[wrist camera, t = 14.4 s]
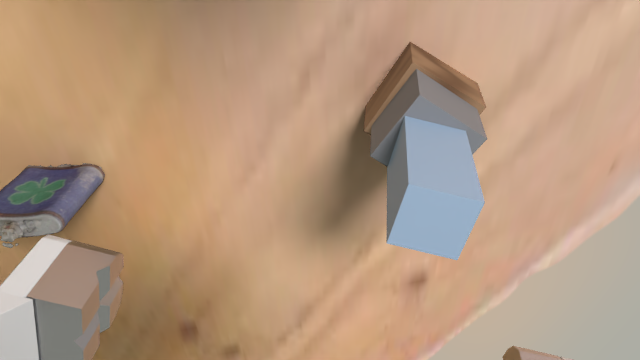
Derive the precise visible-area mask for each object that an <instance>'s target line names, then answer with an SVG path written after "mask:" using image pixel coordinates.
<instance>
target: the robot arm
mask: <svg viewBox="0 0 640 360" xmlns="http://www.w3.org/2000/svg"><path fill="white" fill-rule="evenodd" d="M123 267H124V261H123V254H121V253H119V252H115V251H111V250H108V249H104V248H100V247H96V246H92V245H89V244H85V243H81V242H77V241H72V240H68V239H64V238H60V237H56V236H53V235H49V234H48V235H47V236H45V237H43V238H41V239H40V240H39V241H38V242H37V244H36V245H35V246H34V247H33V248H32V249H31V251H30V252H29V253H28V254H27V255H26V256H25V258H24V259H23V260H22V261H21V262H20V263H19V264H18V266H17V267H16V268H15V269H14V270H13V271H12V273H11V274H10V275H9V276H8V277H7V278H6V280H5V281H4V282H3V283H2V284H1V285H0V360H92V358H93V356H94V354H95V353H96V351H97V349H98V347H99V346H100V333H101V332H102V331H104V330H106V329H108V328H110V326H111V324H112V322H113V320H114V318H115V317H116V314H117V311H118V309H119V306H120V303H121V299H122V294H123V282H122V281H121V279H120V278H119V277H118V276H119V274H120V272H121V271H122V269H123ZM503 360H573V359H568V358H564V357H558V356H555V355H551V354H547V353H542V352H538V351H533V350H529V349H525V348H520V347H516V346H512V347H511V348H509V349H508V350H507V351H506V353H505V354H504V356H503Z"/></svg>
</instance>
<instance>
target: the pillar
mask: <svg viewBox="0 0 640 360" xmlns="http://www.w3.org/2000/svg"><path fill="white" fill-rule="evenodd" d="M484 203H485V202H484V198H483V194H482V190H481V186H480V183H479V179H478V175H477V171H476V167H475V163H474V160H473V156H472V152H471V148H470V144H469V141H468V137H467V133H466V131H465V130H460V129H456V128H452V127H448V126H444V125H440V124H436V123H432V122H428V121H424V120H420V119H416V118H412V117H408V116H405V117H404V120H403V123H402V126H401V129H400V131H399V134H398V137H397V140H396V143H395V146H394V149H393V152H392V155H391V158H390V161H389V164H388V167H387V243H388V244H392V245H396V246H400V247H404V248H409V249H413V250H417V251H421V252H425V253H429V254H434V255H438V256H442V257H446V258H450V259H454V260H458V258H459V256H460V253H461V251H462V249H463V247H464V245H465V243H466V241H467V239H468V237H469V235H470V232H471V230H472V228H473V226H474V224H475V222H476V220H477V218H478V216H479V214H480V211H481V209H482V207H483V205H484Z"/></svg>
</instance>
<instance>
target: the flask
mask: <svg viewBox="0 0 640 360" xmlns="http://www.w3.org/2000/svg"><path fill="white" fill-rule="evenodd" d="M103 177H105V176H104V172H103V171H102V169H101V167H99V166H96V165H92V164H86V163H85V164H84V163H83V165H71V164H69V165H67V164H64V165H60V166H58V167H52V166H51V165H50V166H48V167H43V166H41V165H40V166H28V167H26V168H25V169H24V170H23V171H22V172H21V173H20V174H19V175H18V176H17V177H16V178H15V179H14V180H12V181H11V182H10V183H9V184H8V185H6V186H5V187H4V188H3V189H2V190H1V191H0V236H2V238H1V239H0V240H2V241H6V242H7V241H9V242H13V241H14V240H15V239H16V238H20V237H33V236H40V235H47V234H53V233H58V232H60V231H62V230H63V229H64V227H65V226H66V225H67V223H68V222H69V221H70V220H71V218H72V217H73V216H74V215H75V213H76V212H77V211H78V210H79V209H80V208H81V206H82V205H83V204H84V203H85V201H86V200H87V199H88V198H89V197H90V196H91V194H92V193H93V192H94V191H95V190H96V189H97V187H98V186H99V185H100V184H101V183H102V182H103V180H104V179H103ZM17 245H18V243H16V245H15V246H17ZM3 246H5V247H9V248H12V247H13V245H12V244H11V243H10V244H6V243H3Z"/></svg>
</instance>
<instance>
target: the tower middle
mask: <svg viewBox="0 0 640 360" xmlns="http://www.w3.org/2000/svg"><path fill="white" fill-rule="evenodd" d="M405 116H408V117H412V118H416V119H420V120H424V121H428V122H432V123H436V124H440V125H444V126H448V127H452V128H456V129H460V130H465V131H466V133H467V137H468V141H469V144H470V148H471V152H472V154H473V153H474V152H475V151H476V150H477V149H478V148H479V147H480V146H481V145H482V144H483V143H484V142H485V141H486V140H487V137H486V134H485V131H484V128H483V125H482V122H481V119H480V116H479V113H478V110H477V109H476V108H475V107H473V106H472V105H470V104H469V103H467V102H466V101H464V100H463V99H461V98H460V97H458V96H457V95H455V94H454V93H452V92H451V91H449V90H448V89H446V88H445V87H443V86H442V85H440V84H439V83H437V82H436V81H434V80H433V79H431V78H430V77H428V76H427V75H425V74H424V73H422V72H421V71H419V70H418V69H416V70H415V71H414V72H413V73H412V75H411V76H410V77H409V79H408V80H407V81H406V82H405V84H404V85H403V86H402V87H401V89H400V90H399V91H398V93H397V94H396V95H395V96H394V98H393V99H392V100H391V102H390V103H389V104H388V105H387V107H386V108H385V109H384V110H383V112H382V113H381V114H380V116H379V117H378V118H377V119H376V121H375V122H374V123H373V125H372V126H371V147H370V156H371V157H372V158H374V159H376V160H377V161H379V162H381V163H382V164H384V165H386V166H387V167H388V164H389V161H390V158H391V155H392V152H393V149H394V146H395V143H396V140H397V137H398V134H399V131H400V129H401V126H402V123H403V120H404V117H405Z"/></svg>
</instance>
